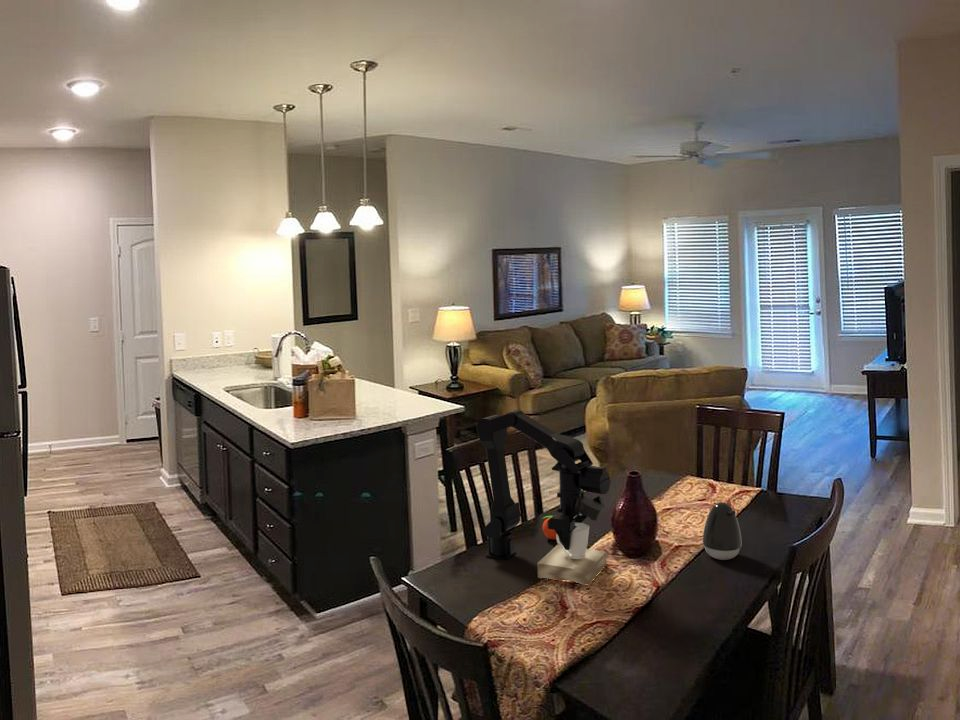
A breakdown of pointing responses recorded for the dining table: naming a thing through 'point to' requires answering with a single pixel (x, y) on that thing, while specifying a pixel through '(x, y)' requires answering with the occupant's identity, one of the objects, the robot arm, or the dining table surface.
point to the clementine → (548, 532)
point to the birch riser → (571, 565)
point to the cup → (577, 541)
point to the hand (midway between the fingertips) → (571, 545)
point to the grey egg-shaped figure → (722, 532)
